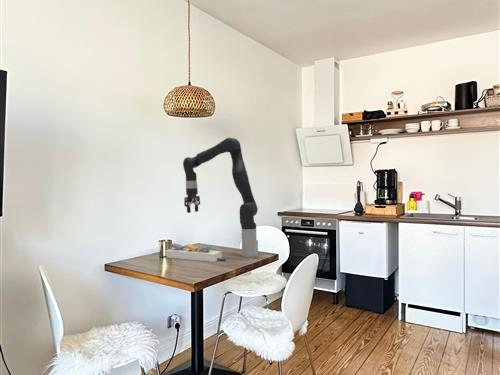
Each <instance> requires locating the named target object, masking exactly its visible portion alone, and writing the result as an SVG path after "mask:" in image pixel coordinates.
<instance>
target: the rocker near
mask: <svg viewBox="0 0 500 375" xmlns="http://www.w3.org/2000/svg"><path fill="white" fill-rule="evenodd" d="M212 249H213V245H210V246H205V247H201V248H198V250H199V252H201V251H205V250H212Z"/></svg>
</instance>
